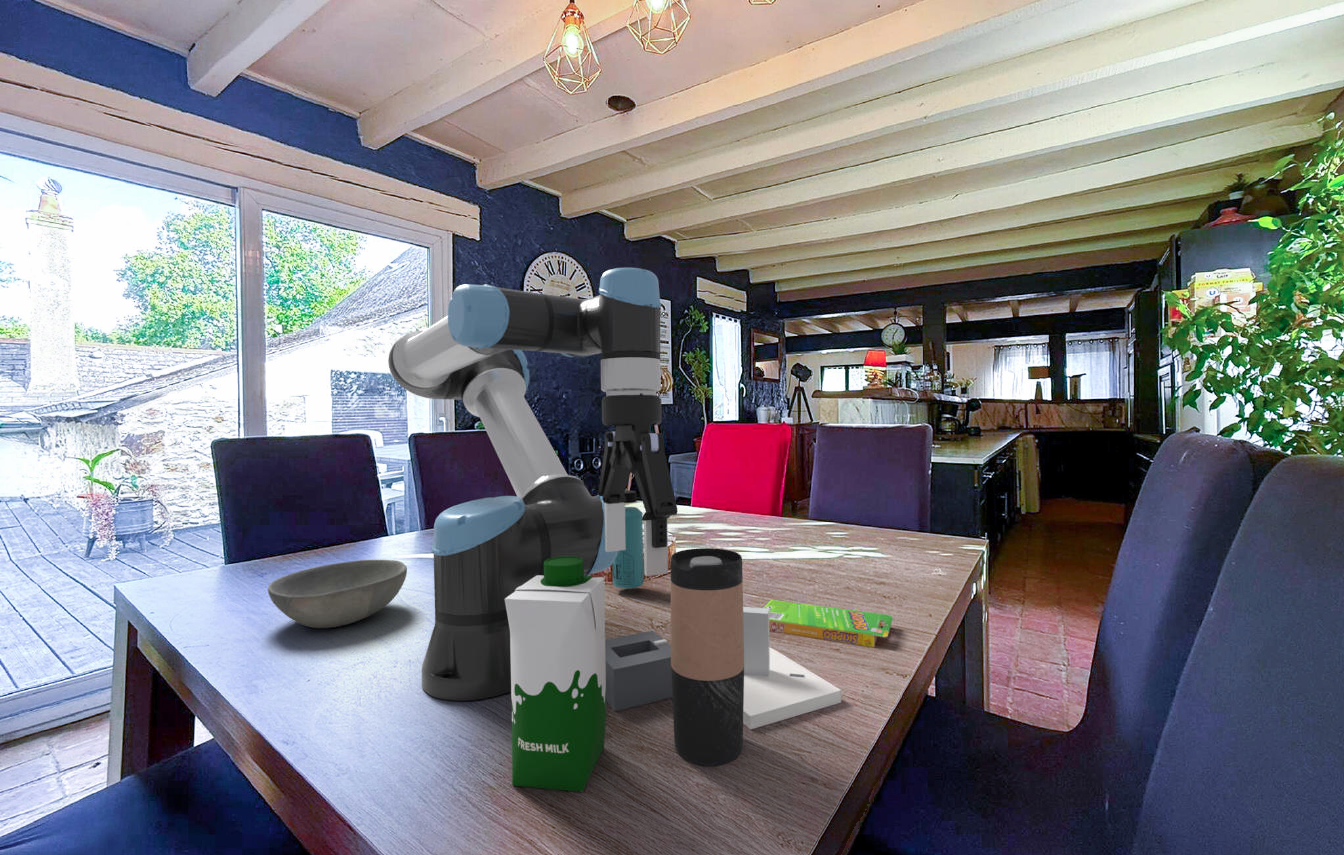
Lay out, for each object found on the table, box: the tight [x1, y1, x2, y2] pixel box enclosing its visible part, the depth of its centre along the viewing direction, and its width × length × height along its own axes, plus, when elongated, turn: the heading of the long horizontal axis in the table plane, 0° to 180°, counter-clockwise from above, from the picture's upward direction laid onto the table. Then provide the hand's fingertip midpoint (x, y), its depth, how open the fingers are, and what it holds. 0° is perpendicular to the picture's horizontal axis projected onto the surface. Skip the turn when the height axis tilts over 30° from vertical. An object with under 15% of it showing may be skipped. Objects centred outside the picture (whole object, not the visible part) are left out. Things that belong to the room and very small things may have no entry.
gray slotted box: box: [605, 630, 672, 713], centre depth 73 cm, size 9×9×5 cm
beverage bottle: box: [611, 490, 646, 589], centre depth 113 cm, size 6×7×20 cm
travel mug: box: [670, 547, 744, 767], centre depth 60 cm, size 8×8×20 cm
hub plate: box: [743, 606, 842, 730], centre depth 74 cm, size 13×18×10 cm
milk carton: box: [505, 556, 607, 793], centre depth 57 cm, size 9×9×20 cm
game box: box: [763, 599, 894, 648], centre depth 93 cm, size 3×10×20 cm
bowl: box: [267, 559, 408, 629], centre depth 100 cm, size 21×21×8 cm
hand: (634, 561), depth 73 cm, fingers open, 13 cm apart
